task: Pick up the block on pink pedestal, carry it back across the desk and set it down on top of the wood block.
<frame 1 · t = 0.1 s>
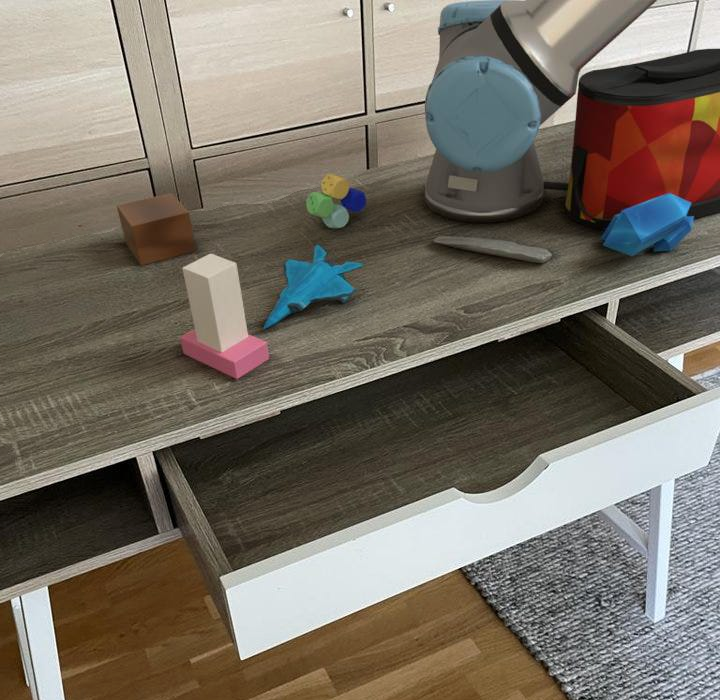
wood block: (160, 247, 107), on the table
block on pink pedestal: (226, 356, 87), on the table
crystal: (691, 205, 98), point 4 cm above the table
toy airplane: (308, 304, 95), on the table
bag: (663, 200, 110), on the table
stone tool: (501, 242, 103), on the table
dice: (338, 225, 110), on the table
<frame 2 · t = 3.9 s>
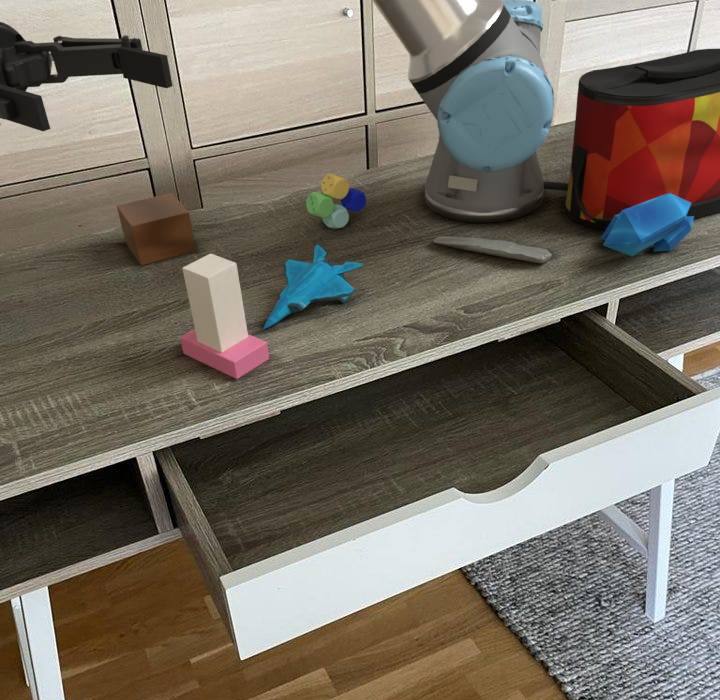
hand: (107, 91, 76), 24 cm above the table, tool horizontal, fingers open, 13 cm apart
nothing on the table moved.
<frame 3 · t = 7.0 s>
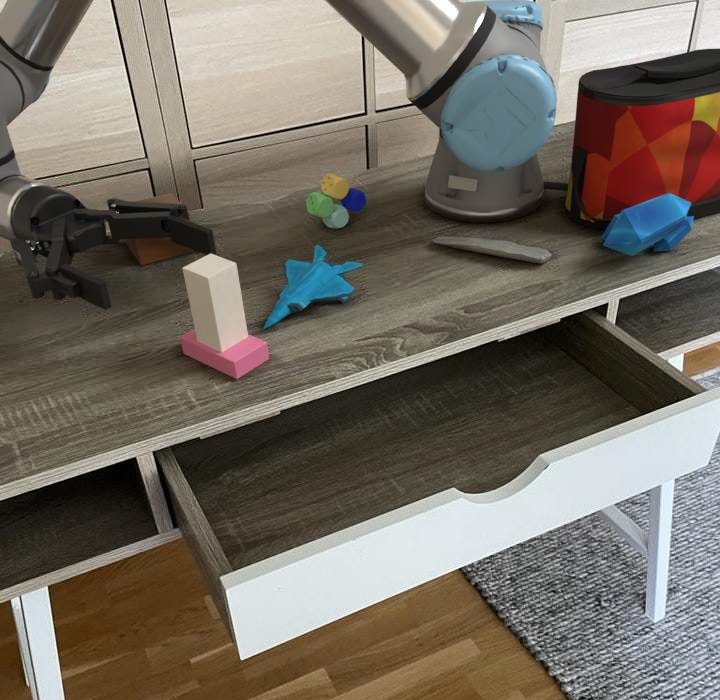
hand: (161, 268, 86), 7 cm above the table, tool horizontal, fingers open, 13 cm apart
nothing on the table moved.
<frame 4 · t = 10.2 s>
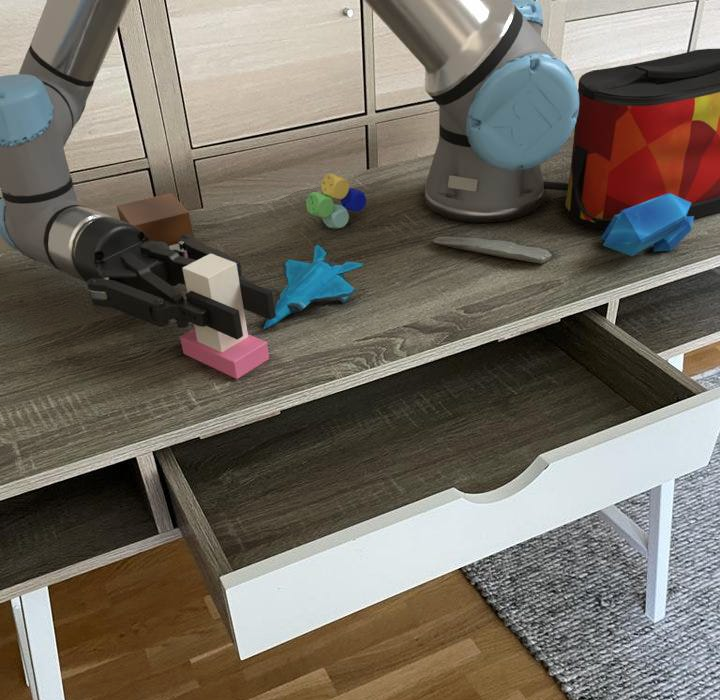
hand: (254, 315, 80), 6 cm above the table, tool horizontal, fingers closed on block on pink pedestal, 4 cm apart
block on pink pedestal: (226, 356, 87), on the table, touching gripper
everything else where it was.
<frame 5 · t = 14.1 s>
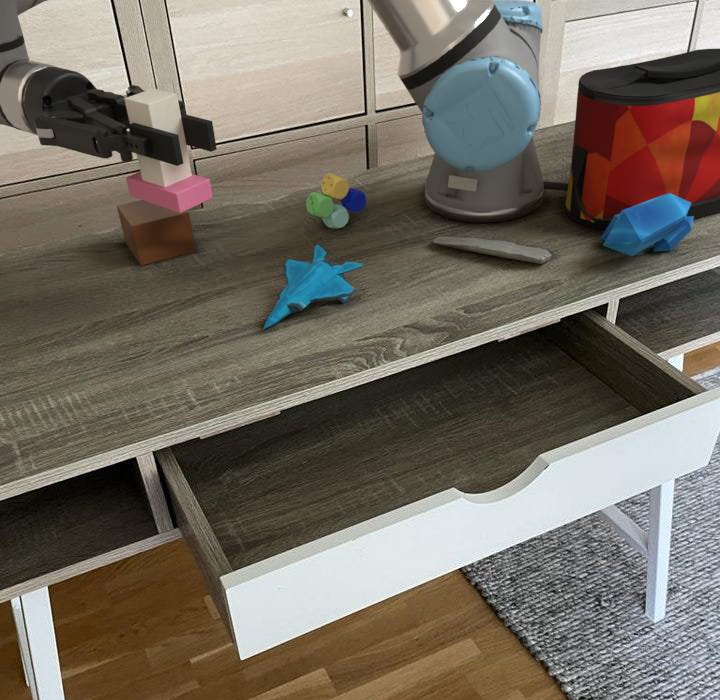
hand: (194, 143, 82), 18 cm above the table, tool horizontal, fingers closed on block on pink pedestal, 4 cm apart
block on pink pedestal: (171, 197, 89), point 12 cm above the table, touching gripper
everything else where it was.
when the fingers open (11 cm above the table, at t = 18.0 s): block on pink pedestal stays where it is, resting on wood block.
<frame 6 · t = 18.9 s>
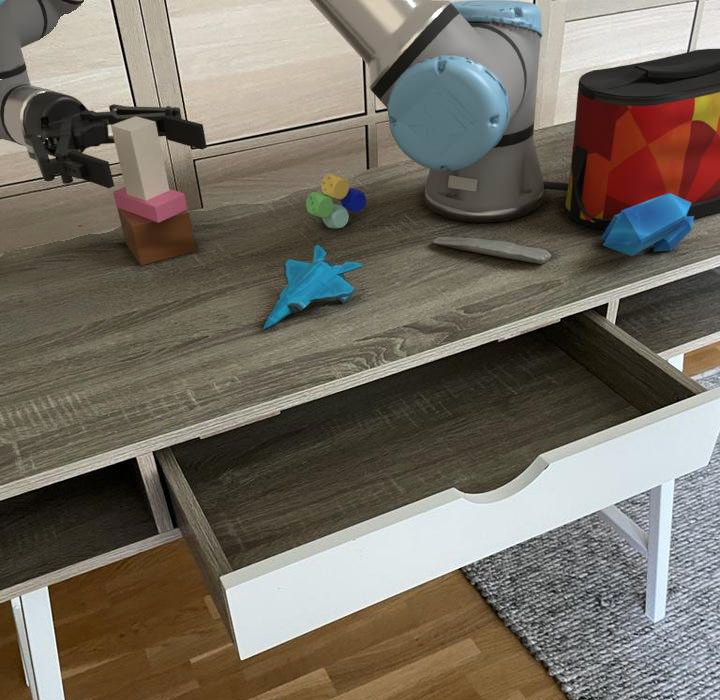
hand: (157, 155, 98), 12 cm above the table, tool horizontal, fingers open, 13 cm apart
block on pink pedestal: (151, 208, 104), point 5 cm above the table, touching wood block
everything else where it was.
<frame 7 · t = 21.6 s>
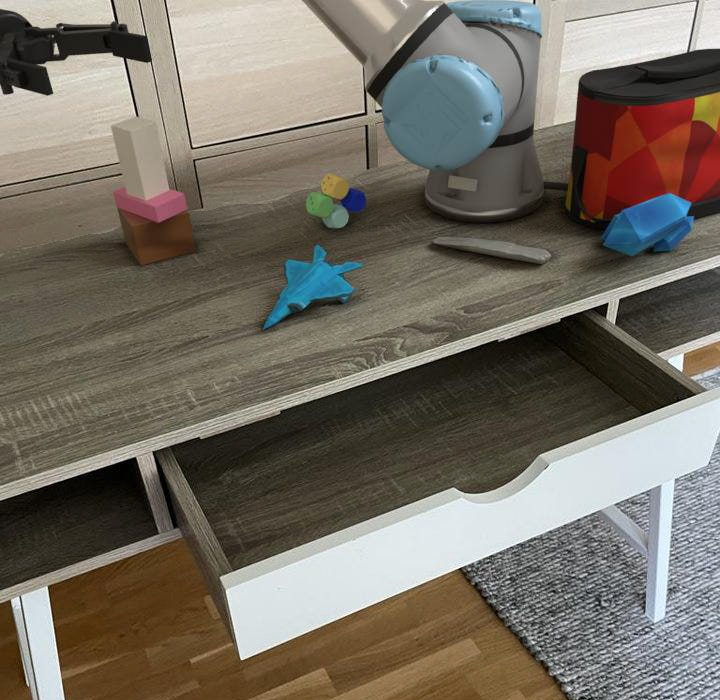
hand: (99, 64, 96), 21 cm above the table, tool horizontal, fingers open, 13 cm apart
nothing on the table moved.
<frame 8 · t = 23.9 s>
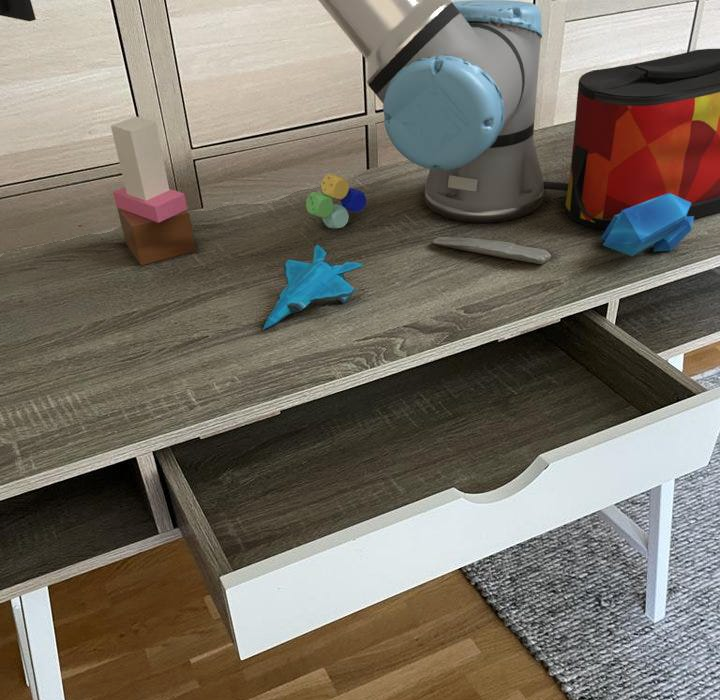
nothing on the table moved.
at the end: block on pink pedestal inside the target area on the wood block (0.1 cm from its centre), point 5.0 cm above the wood block's base; block on pink pedestal tilted 0°; the gripper is holding nothing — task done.
